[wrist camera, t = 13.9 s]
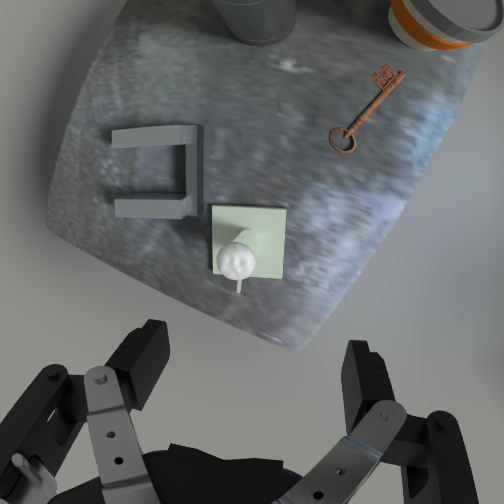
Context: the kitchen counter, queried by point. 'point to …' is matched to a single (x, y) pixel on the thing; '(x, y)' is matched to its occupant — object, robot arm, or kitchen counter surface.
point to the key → (374, 104)
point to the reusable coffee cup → (445, 22)
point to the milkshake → (238, 256)
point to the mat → (262, 224)
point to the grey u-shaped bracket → (165, 202)
